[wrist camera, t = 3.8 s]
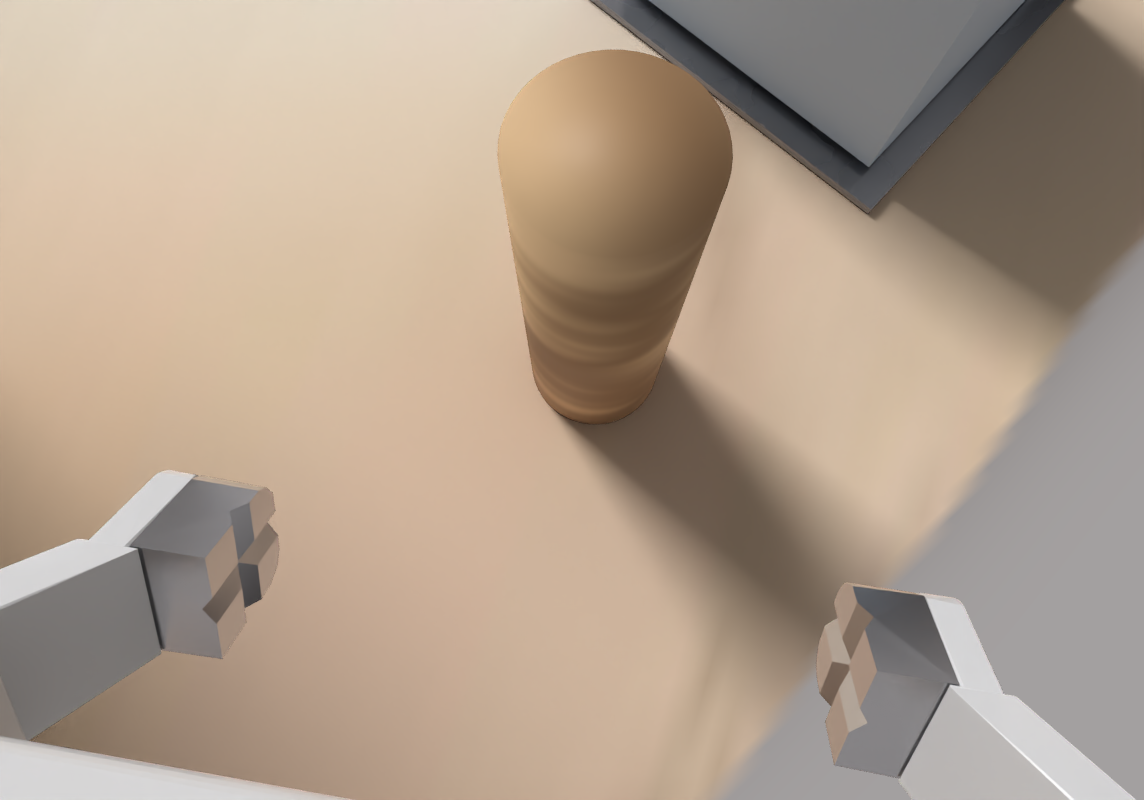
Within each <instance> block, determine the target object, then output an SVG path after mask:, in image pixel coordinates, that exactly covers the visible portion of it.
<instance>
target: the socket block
mask: <svg viewBox="0 0 1144 800" xmlns="http://www.w3.org/2000/svg"><path fill="white" fill-rule="evenodd" d="M649 1H650V2H651V3H653V4H654V5H655V6H657V7H658V8H659V9H661V10H662V11H663V12H665V13H666V14H667V15H669V16H670V17H671V18H673V19H674V20H675V21H676V22H678V23H679V24H680V25H682V26H683V27H684V28H686V29H687V30H688V31H690V32H691V33H692V34H694V35H695V36H696V37H698V38H699V39H700V40H702V41H703V42H704V43H706V44H707V45H708V46H709V47H711V48H712V49H713V50H715V51H716V52H717V53H719V54H720V55H721V56H723V57H724V58H725V59H727V60H728V61H729V62H731V63H732V64H733V65H735V66H736V67H737V68H739V69H740V70H741V71H742V72H744V73H745V74H746V75H748V76H749V77H750V78H752V79H753V80H754V81H756V82H757V83H758V84H760V85H761V86H762V87H764V88H765V89H766V90H768V91H769V92H770V93H771V94H773V95H774V96H775V97H777V98H778V99H779V100H781V101H782V102H783V103H785V104H786V105H787V106H789V107H790V108H791V109H793V110H794V111H795V112H797V113H798V114H799V115H801V116H802V117H803V118H804V119H806V120H807V121H808V122H810V123H811V124H812V125H814V126H815V127H816V128H818V129H819V130H820V131H822V132H823V133H824V134H826V135H827V136H828V137H830V138H831V139H832V140H834V141H835V142H836V143H837V144H839V145H840V146H841V147H843V148H844V149H845V150H847V151H848V152H849V153H851V154H852V155H853V156H855V157H856V158H857V159H859V160H860V161H861V162H863V163H864V164H865V165H867V166H868V167H869V166H870V165H871V164H872V163H873V162H874V161H875V160H876V159H877V158H878V157H879V156H880V155H881V154H882V153H883V151H884V150H885V149H886V148H887V147H888V146H889V145H890V144H891V143H892V142H893V141H894V140H895V139H896V138H897V137H898V135H899V134H900V133H901V132H902V131H903V130H904V129H905V128H906V127H907V126H908V125H909V124H910V123H911V122H912V121H913V119H914V118H915V117H916V116H917V115H918V114H919V113H920V112H921V111H922V110H923V109H924V108H925V107H926V106H927V105H928V103H929V102H930V101H931V100H932V99H933V98H934V97H935V96H936V95H937V94H938V93H939V92H940V91H941V90H942V89H943V87H944V86H945V85H946V84H947V83H948V82H949V81H950V80H951V79H952V78H953V77H954V76H955V75H956V74H957V73H958V71H959V70H960V69H961V68H962V67H963V66H964V65H965V64H966V63H967V62H968V61H969V60H970V59H971V58H972V57H973V55H974V54H975V53H976V52H977V51H978V50H979V49H980V48H981V47H982V46H983V45H984V44H985V43H986V42H987V41H988V39H989V38H990V37H991V36H992V35H993V34H994V33H995V32H996V31H997V30H998V29H999V28H1000V27H1001V26H1002V25H1003V23H1004V22H1005V21H1006V20H1007V19H1008V18H1009V17H1010V16H1011V15H1012V14H1013V13H1014V12H1015V11H1016V10H1017V9H1018V7H1019V6H1020V5H1021V4H1022V3H1023V2H1024V1H1025V0H649Z"/></svg>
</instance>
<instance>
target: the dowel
mask: <svg viewBox="0 0 1144 800" xmlns="http://www.w3.org/2000/svg"><path fill="white" fill-rule="evenodd" d="M732 160H733V153H732V141H731V136H730V131H729V128H728V125H727V122H726V119H725V117H724V115H723V113H722V111H721V109H720V107H719V105H718V104H717V103H716V101H715V100H714V98H713V97H712V95H711V94H710V93H709V92H708V91H707V90H706V89H705V87H704V86H703V85H702V84H701V83H700V82H698V81H697V80H696V79H695V78H694V77H692V76H691V75H690V74H689V73H687V72H686V71H684V70H682V69H681V68H679V67H678V66H676V65H674V64H672V63H670V62H668V61H666V60H663V59H660V58H658V57H655V56H652V55H648V54H644V53H640V52H635V51H627V50H601V51H592V52H587V53H583V54H578V55H575V56H572V57H569V58H566V59H564V60H562V61H560V62H557V63H555V64H553V65H551V66H550V67H548V68H547V69H545V70H543V71H542V72H540V73H539V74H538V75H536V76H535V77H534V78H533V79H532V80H530V81H529V82H528V83H527V84H526V85H525V86H524V88H523V89H522V90H521V91H520V92H519V93H518V95H517V96H516V97H515V99H514V100H513V102H512V103H511V105H510V107H509V109H508V111H507V113H506V115H505V117H504V120H503V123H502V126H501V129H500V134H499V139H498V164H499V172H500V178H501V184H502V190H503V196H504V202H505V208H506V214H507V220H508V226H509V232H510V238H511V244H512V250H513V256H514V262H515V268H516V274H517V280H518V286H519V292H520V298H521V304H522V310H523V316H524V322H525V328H526V334H527V340H528V346H529V352H530V358H531V364H532V370H533V375H534V379H535V383H536V385H537V388H538V390H539V392H540V393H541V395H542V397H543V398H544V399H545V401H546V402H547V403H548V404H549V405H550V406H551V407H552V408H553V409H554V410H555V411H557V412H558V413H559V414H561V415H563V416H565V417H566V418H569V419H571V420H574V421H577V422H581V423H587V424H604V423H609V422H613V421H616V420H619V419H622V418H624V417H625V416H627V415H629V414H631V413H632V412H633V411H635V410H636V409H637V408H638V407H639V406H640V405H641V404H642V403H643V402H644V401H645V399H646V398H647V397H648V395H649V393H650V391H651V389H652V387H653V385H654V382H655V379H656V377H657V374H658V371H659V369H660V366H661V363H662V361H663V358H664V355H665V352H666V350H667V347H668V344H669V342H670V339H671V336H672V334H673V331H674V328H675V326H676V323H677V320H678V317H679V315H680V312H681V309H682V307H683V304H684V301H685V299H686V296H687V293H688V291H689V288H690V285H691V282H692V280H693V277H694V274H695V272H696V269H697V266H698V264H699V261H700V258H701V256H702V253H703V250H704V247H705V245H706V242H707V239H708V237H709V234H710V231H711V229H712V226H713V223H714V221H715V218H716V215H717V212H718V210H719V207H720V204H721V202H722V199H723V196H724V194H725V191H726V188H727V186H728V182H729V178H730V174H731V169H732Z"/></svg>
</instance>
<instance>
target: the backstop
mask: <svg viewBox="0 0 1144 800" xmlns="http://www.w3.org/2000/svg"><path fill="white" fill-rule="evenodd" d="M591 1H592V2H594V3H595V4H596V5H597V6H599V7H600V8H601V9H603V10H604V11H605V12H606V13H608V14H609V15H610V16H612V17H613V18H614V19H616V20H617V21H618V22H619V23H621V24H622V25H623V26H625V27H626V28H627V29H629V30H630V31H631V32H632V33H634V34H635V35H636V36H638V37H639V38H640V39H641V40H643V41H644V42H645V43H647V44H648V45H649V46H651V47H652V48H653V49H654V50H656V51H657V52H658V53H660V54H661V55H662V56H664V57H665V58H666V59H667V60H669V61H670V62H671V63H673V64H674V65H676V66H678V67H679V68H681V69H682V70H684V71H686V72H687V73H689V74H690V75H691V76H692V77H694V78H695V79H696V80H697V81H698V82H700V83H701V84H702V85H703V86H704V87H705V89H706V90H708V91H709V92H710V93H711V94H713V95H714V96H715V97H717V98H718V99H719V100H721V101H722V102H723V103H724V104H726V105H727V106H728V107H730V108H731V109H732V110H734V111H735V112H736V113H737V114H739V115H740V116H741V117H743V118H744V119H745V120H746V121H748V122H749V123H750V124H752V125H753V126H754V127H756V128H757V129H758V130H759V131H761V132H762V133H763V134H765V135H766V136H767V137H769V138H770V139H771V140H772V141H774V142H775V143H776V144H778V145H779V146H780V147H781V148H783V149H784V150H785V151H787V152H788V153H789V154H791V155H792V156H793V157H794V158H796V159H797V160H798V161H800V162H801V163H802V164H804V165H805V166H806V167H807V168H809V169H810V170H811V171H813V172H814V173H815V174H816V175H818V176H819V177H820V178H822V179H823V180H824V181H826V182H827V183H828V184H829V185H831V186H832V187H833V188H835V189H836V190H837V191H839V192H840V193H841V194H842V195H844V196H845V197H846V198H848V199H849V200H850V201H851V202H853V203H854V204H855V205H857V206H858V207H859V208H861V209H862V210H863V211H864V212H866V213H867V214H868V213H869V212H870V211H871V210H872V209H873V208H874V207H875V206H876V205H877V204H878V202H879V201H880V200H881V199H882V198H883V197H884V196H885V195H886V194H887V193H888V192H889V190H890V189H891V188H892V187H893V186H894V185H895V184H896V183H897V182H898V181H899V180H900V179H901V177H902V176H903V175H904V174H905V173H906V172H907V171H908V170H909V169H910V168H911V167H912V166H913V164H914V163H915V162H916V161H917V160H918V159H919V158H920V157H921V156H922V155H923V154H924V152H925V151H926V150H927V149H928V148H929V147H930V146H931V145H932V144H933V143H934V142H935V141H936V139H937V138H938V137H939V136H940V135H941V134H942V133H943V132H944V131H945V130H946V129H947V128H948V126H949V125H950V124H951V123H952V122H953V121H954V120H955V119H956V118H957V117H958V116H959V114H960V113H961V112H962V111H963V110H964V109H965V108H966V107H967V106H968V105H969V104H970V103H971V101H972V100H973V99H974V98H975V97H976V96H977V95H978V94H979V93H980V92H981V91H982V90H983V88H984V87H985V86H986V85H987V84H988V83H989V82H990V81H991V80H992V79H993V78H994V77H995V75H996V74H997V73H998V72H999V71H1000V70H1001V69H1002V68H1003V67H1004V66H1005V65H1006V63H1007V62H1008V61H1009V60H1010V59H1011V58H1012V57H1013V56H1014V55H1015V54H1016V53H1017V52H1018V50H1019V49H1020V48H1021V47H1022V46H1023V45H1024V44H1025V43H1026V42H1027V41H1028V40H1029V39H1030V37H1031V36H1032V35H1033V34H1034V33H1035V32H1036V31H1037V30H1038V29H1039V28H1040V27H1041V25H1042V24H1043V23H1044V22H1045V21H1046V20H1047V19H1048V18H1049V17H1050V16H1051V15H1052V14H1053V12H1054V11H1055V10H1056V9H1057V8H1058V7H1059V6H1060V5H1061V4H1062V3H1063V2H1064V1H1065V0H1025V1H1024V2H1023V3H1022V4H1021V5H1020V6H1019V7H1018V9H1017V10H1016V11H1015V12H1014V13H1013V14H1012V15H1011V16H1010V17H1009V18H1008V19H1007V20H1006V21H1005V22H1004V23H1003V25H1002V26H1001V27H1000V28H999V29H998V30H997V31H996V32H995V33H994V34H993V35H992V36H991V37H990V38H989V39H988V41H987V42H986V43H985V44H984V45H983V46H982V47H981V48H980V49H979V50H978V51H977V52H976V53H975V54H974V55H973V57H972V58H971V59H970V60H969V61H968V62H967V63H966V64H965V65H964V66H963V67H962V68H961V69H960V70H959V71H958V73H957V74H956V75H955V76H954V77H953V78H952V79H951V80H950V81H949V82H948V83H947V84H946V85H945V86H944V87H943V89H942V90H941V91H940V92H939V93H938V94H937V95H936V96H935V97H934V98H933V99H932V100H931V101H930V102H929V103H928V105H927V106H926V107H925V108H924V109H923V110H922V111H921V112H920V113H919V114H918V115H917V116H916V117H915V118H914V119H913V121H912V122H911V123H910V124H909V125H908V126H907V127H906V128H905V129H904V130H903V131H902V132H901V133H900V134H899V135H898V137H897V138H896V139H895V140H894V141H893V142H892V143H891V144H890V145H889V146H888V147H887V148H886V149H885V150H884V151H883V153H882V154H881V155H880V156H879V157H878V158H877V159H876V160H875V161H874V162H873V163H872V164H871V165H870V166H869V167H868V166H867V165H865V164H864V163H863V162H861V161H860V160H859V159H857V158H856V157H855V156H853V155H852V154H851V153H849V152H848V151H847V150H845V149H844V148H843V147H841V146H840V145H839V144H837V143H836V142H835V141H834V140H832V139H831V138H830V137H828V136H827V135H826V134H824V133H823V132H822V131H820V130H819V129H818V128H816V127H815V126H814V125H812V124H811V123H810V122H808V121H807V120H806V119H804V118H803V117H802V116H801V115H799V114H798V113H797V112H795V111H794V110H793V109H791V108H790V107H789V106H787V105H786V104H785V103H783V102H782V101H781V100H779V99H778V98H777V97H775V96H774V95H773V94H771V93H770V92H769V91H768V90H766V89H765V88H764V87H762V86H761V85H760V84H758V83H757V82H756V81H754V80H753V79H752V78H750V77H749V76H748V75H746V74H745V73H744V72H742V71H741V70H740V69H739V68H737V67H736V66H735V65H733V64H732V63H731V62H729V61H728V60H727V59H725V58H724V57H723V56H721V55H720V54H719V53H717V52H716V51H715V50H713V49H712V48H711V47H709V46H708V45H707V44H706V43H704V42H703V41H702V40H700V39H699V38H698V37H696V36H695V35H694V34H692V33H691V32H690V31H688V30H687V29H686V28H684V27H683V26H682V25H680V24H679V23H678V22H676V21H675V20H674V19H673V18H671V17H670V16H669V15H667V14H666V13H665V12H663V11H662V10H661V9H659V8H658V7H657V6H655V5H654V4H653V3H651V2H650V1H649V0H591Z"/></svg>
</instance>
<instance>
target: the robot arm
mask: <svg viewBox="0 0 1144 800" xmlns="http://www.w3.org/2000/svg"><path fill="white" fill-rule="evenodd" d="M274 512H275V504H274V497H273V492H272V491H270V490H269V489H268V488H266V487H261V486H256V485H251V484H245V483H240V482H235V481H229V480H224V479H219V478H213V477H208V476H202V475H201V476H198V475H194V474H188V473H183V472H178V471H172V470H165V471H162V472H159V473H157V474H156V475H155V476H154V477H153V478H152V479H151V480H150V481H149V482H148V483H146V484H145V485H144V486H143V487H142V488H141V489H140V490H139V491H138V492H137V493H136V494H135V495H134V496H133V497H132V498H131V499H130V500H129V501H128V502H127V503H126V504H125V505H124V506H123V507H122V508H121V509H120V510H119V511H118V512H117V513H116V514H115V515H114V516H113V517H112V518H111V519H110V520H109V521H108V522H107V523H106V524H105V525H104V526H103V527H102V528H101V529H100V530H98V531H97V532H96V533H95V534H94V535H93V536H92V537H91V538H90V539H89V540H83V539H76V540H73V541H70V542H68V543H65V544H63V545H60V546H58V547H55V548H53V549H50V550H48V551H45V552H42V553H40V554H37V555H35V556H32V557H30V558H27V559H25V560H22V561H19V562H17V563H14V564H12V565H9V566H7V567H4V568H2V569H0V800H353V799H348V798H342V797H337V796H331V795H326V794H320V793H315V792H309V791H304V790H298V789H293V788H287V787H281V786H276V785H270V784H265V783H259V782H254V781H248V780H243V779H237V778H232V777H226V776H221V775H215V774H210V773H204V772H198V771H193V770H187V769H182V768H176V767H171V766H165V765H160V764H154V763H149V762H143V761H138V760H132V759H126V758H121V757H115V756H110V755H104V754H99V753H93V752H88V751H82V750H77V749H71V748H66V747H60V746H55V745H49V744H43V743H38V742H32V741H29V740H30V739H32V738H33V737H35V736H36V735H38V734H39V733H41V732H43V731H44V730H46V729H47V728H49V727H50V726H52V725H53V724H55V723H56V722H58V721H59V720H61V719H62V718H64V717H65V716H67V715H68V714H70V713H72V712H73V711H75V710H76V709H78V708H79V707H81V706H82V705H84V704H85V703H87V702H88V701H90V700H91V699H93V698H94V697H96V696H97V695H99V694H100V693H102V692H104V691H105V690H107V689H108V688H110V687H111V686H113V685H114V684H116V683H117V682H119V681H120V680H122V679H123V678H125V677H126V676H128V675H129V674H131V673H132V672H134V671H136V670H137V669H139V668H140V667H142V666H143V665H145V664H146V663H148V662H149V661H151V660H152V659H154V658H155V657H157V656H158V655H160V654H161V650H164V651H171V652H178V653H185V654H192V655H199V656H206V657H213V658H220V659H223V658H224V656H225V654H226V653H227V651H228V650H229V648H230V647H231V645H232V644H233V642H234V641H235V639H236V638H237V636H238V635H239V633H240V632H241V630H242V629H243V627H244V626H245V624H246V614H245V608H246V607H248V606H250V605H251V604H253V603H255V602H257V601H259V600H261V599H262V598H263V596H264V594H265V593H266V591H267V590H268V588H269V586H270V585H271V583H272V580H273V577H274V574H275V571H276V568H277V565H278V557H279V539H278V534H277V533H276V532H275V531H274V530H273V528H272V527H271V526H270V525H269V524H268V521H269V519H270V518H271V516H272V515H273V514H274ZM834 606H835V610H836V614H837V618H836V619H835V620H833V621H831V622H830V623H828V624H827V625H825V626H824V629H823V632H822V635H821V638H820V641H819V644H818V652H817V660H816V670H817V681H818V686H819V692H820V694H821V696H822V697H823V698H824V699H825V700H826V701H827V702H828V703H829V704H830V706H831V709H830V711H829V714H828V716H827V718H826V721H825V723H826V728H827V733H828V737H829V742H830V747H831V752H832V757H833V762H834V765H836V766H841V767H846V768H851V769H856V770H860V771H866V772H871V773H876V774H880V775H886V776H890V777H895V778H900V779H899V783H900V784H901V785H902V787H903V788H904V789H905V791H906V792H907V793H908V794H909V796H910V797H911V799H912V800H1135V799H1134V798H1133V797H1132V796H1131V795H1130V794H1129V793H1127V792H1126V791H1125V790H1124V789H1123V788H1122V787H1120V786H1119V785H1118V784H1117V783H1116V782H1115V781H1114V780H1112V779H1111V778H1110V777H1109V776H1108V775H1107V774H1105V773H1104V772H1103V771H1102V770H1101V769H1100V768H1098V767H1097V766H1096V765H1095V764H1094V763H1093V762H1092V761H1090V760H1089V759H1088V758H1087V757H1086V756H1084V755H1083V754H1082V753H1081V752H1080V751H1079V750H1078V749H1077V748H1075V747H1074V746H1073V745H1072V744H1071V743H1070V742H1068V741H1067V740H1066V739H1065V738H1064V737H1063V736H1061V735H1060V734H1059V733H1058V732H1057V731H1056V730H1055V729H1053V728H1052V727H1051V726H1050V725H1049V724H1048V723H1046V722H1045V721H1044V720H1043V719H1042V718H1041V717H1039V716H1038V715H1037V714H1036V713H1035V712H1034V711H1033V710H1031V709H1030V708H1029V707H1028V706H1027V705H1026V704H1024V703H1023V702H1022V701H1021V700H1020V699H1018V698H1017V697H1016V696H1011V695H1005V694H1004V692H1003V690H1002V688H1001V686H1000V683H999V681H998V679H997V677H996V675H995V672H994V670H993V668H992V666H991V664H990V662H989V659H988V657H987V655H986V653H985V651H984V649H983V646H982V644H981V642H980V640H979V638H978V636H977V633H976V631H975V629H974V627H973V625H972V623H971V621H970V618H969V616H968V614H967V612H966V610H965V607H964V605H963V604H962V603H961V602H960V601H959V600H958V599H957V598H953V597H946V596H938V595H931V594H925V593H918V594H916V593H912V592H906V591H900V590H893V589H887V588H881V587H874V586H868V585H861V584H855V583H849V582H845V583H844V584H843V585H842V586H841V588H840V589H839V591H838V593H837V596H836V598H835V601H834Z"/></svg>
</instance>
